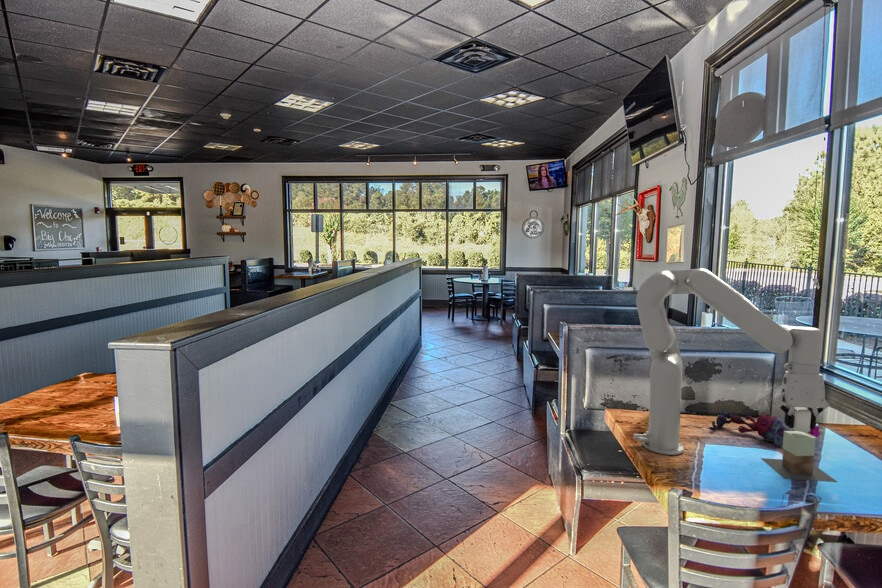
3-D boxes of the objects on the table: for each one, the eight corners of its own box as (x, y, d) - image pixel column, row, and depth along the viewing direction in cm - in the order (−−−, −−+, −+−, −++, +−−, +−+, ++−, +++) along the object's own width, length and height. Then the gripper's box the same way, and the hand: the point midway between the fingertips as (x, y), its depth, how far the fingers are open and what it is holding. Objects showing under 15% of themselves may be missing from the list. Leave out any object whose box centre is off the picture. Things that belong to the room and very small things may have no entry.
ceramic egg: (795, 431, 142) (796, 411, 142) (785, 425, 147) (787, 406, 147) (813, 432, 141) (815, 412, 141) (803, 426, 146) (805, 407, 146)
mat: (784, 479, 140) (784, 478, 140) (760, 459, 153) (760, 458, 153) (837, 483, 137) (838, 482, 137) (808, 462, 151) (808, 461, 151)
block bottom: (792, 472, 143) (793, 455, 143) (782, 464, 149) (783, 447, 148) (812, 474, 142) (813, 456, 142) (801, 466, 148) (803, 448, 147)
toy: (711, 439, 179) (807, 470, 155) (706, 420, 176) (804, 449, 152) (730, 412, 187) (824, 437, 163) (726, 393, 183) (822, 416, 159)
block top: (796, 455, 142) (797, 438, 142) (782, 448, 148) (783, 431, 147) (814, 455, 142) (815, 437, 142) (800, 448, 148) (801, 430, 147)
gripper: (779, 370, 140) (775, 430, 142) (844, 372, 138) (839, 433, 139) (765, 364, 148) (762, 421, 149) (827, 366, 145) (823, 424, 147)
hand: (799, 426), depth 144 cm, fingers closed on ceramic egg, 5 cm apart
